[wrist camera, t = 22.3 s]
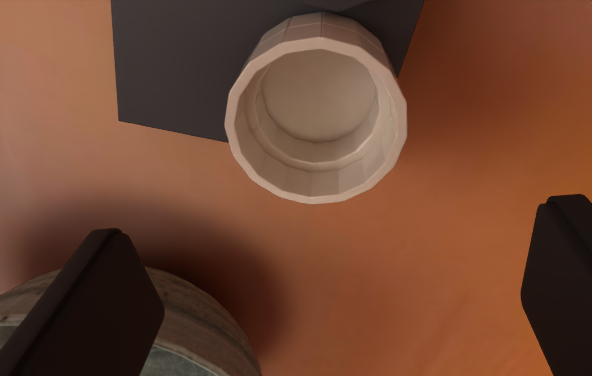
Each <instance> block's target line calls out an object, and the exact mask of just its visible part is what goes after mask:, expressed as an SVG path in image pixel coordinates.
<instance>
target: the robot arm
mask: <svg viewBox="0 0 592 376" xmlns="http://www.w3.org/2000/svg"><path fill="white" fill-rule="evenodd" d="M521 302H522V306H523V309H524V311H525V313H526V315H527V318H528V320H529V322H530V324H531V327H532V329H533V331H534V333H535V335H536V338H537V340H538V342H539V344H540V347H541V349H542V351H543V353H544V355H545V358H546V360H547V362H548V364H549V367H550V369H551V371H552V373H553V375H554V376H592V203H591V202H590V201H589V200H588V198H587V197H586V196H584V195H582V194H574V195H560V196H551V197H549V198H548V199H547V202H546V204H540V205H539V206H538V209H537V213H536V218H535V223H534V228H533V233H532V238H531V243H530V248H529V253H528V258H527V263H526V268H525V272H524V277H523V282H522V287H521ZM164 316H165V308H164V305H163V302H162V301H161V299H160V297H159V295H158V293H157V291H156V289H155V287H154V285H153V283H152V281H151V279H150V277H149V275H148V273H147V271H146V269H145V267H144V265H143V263H142V261H141V259H140V257H139V255H138V253H137V251H136V249H135V247H134V246H133V244H132V242H131V240H130V238H129V236H128V235H127V234H124V233H123V232H122V231H121V230H120V229H118V228H110V229H96V230H93V231H91V232H90V233H89V234H88V236H87V237H86V238H85V240H84V241H83V242H82V244H81V245H80V246H79V248H78V249H77V250H76V251H75V253H74V254H73V255H72V257H71V258H70V259H69V261H68V262H67V263H66V265H65V266H64V267H63V269H62V270H61V271H60V272H59V274H58V275H57V276H56V278H55V279H54V280H53V282H52V283H51V284H50V286H49V287H48V288H47V289H46V291H45V292H44V293H43V295H42V296H41V297H40V299H39V300H38V301H37V303H36V304H35V305H34V306H33V308H32V309H31V310H30V312H29V313H28V314H27V316H26V317H25V318H24V320H23V321H22V322H21V324H20V325H19V326H18V327H17V329H16V330H15V331H14V333H13V334H12V335H11V337H10V338H9V339H8V341H7V342H6V343H5V344H4V346H3V347H2V348H1V350H0V376H140V374H141V371H142V369H143V367H144V364H145V362H146V360H147V357H148V355H149V353H150V350H151V348H152V346H153V343H154V341H155V339H156V336H157V334H158V332H159V329H160V327H161V325H162V322H163V320H164Z"/></svg>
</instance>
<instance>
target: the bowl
mask: <svg viewBox="0 0 592 376" xmlns="http://www.w3.org/2000/svg"><path fill="white" fill-rule="evenodd" d="M62 269H63V268H62ZM62 269H59V270H55V271H52V272H48V273H45V274H42V275H40V276H38V277H35V278H33V279H31V280H29V281H27V282H25V283H23V284H21V285H19V286H17V287H15V288H13V289H11V290H10V291H8V292H6V293H4V294H2V295H0V350H1V348H2V347H3V346H4V344H5V343H6V342H7V341H8V339H9V338H10V337H11V335H12V334H13V333H14V331H15V330H16V329H17V327H18V326H19V325H20V324H21V322H22V321H23V320H24V318H25V317H26V316H27V314H28V313H29V312H30V310H31V309H32V308H33V306H34V305H35V304H36V303H37V301H38V300H39V299H40V297H41V296H42V295H43V293H44V292H45V291H46V289H47V288H48V287H49V286H50V284H51V283H52V282H53V280H54V279H55V278H56V276H57V275H58V274H59V272H60V271H61V270H62ZM145 269H146V271H147V273H148V275H149V277H150V279H151V281H152V283H153V285H154V287H155V289H156V291H157V293H158V295H159V297H160V299H161V301H162V302H163V305H164V308H165V316H164V320H163V322H162V325H161V327H160V329H159V332H158V334H157V336H156V339H155V341H154V343H153V346H152V348H151V350H150V353H149V355H148V357H147V360H146V362H145V364H144V367H143V369H142V371H141V374H140V376H262V374H261V370H260V366H259V363H258V361H257V358H256V356H255V353H254V351H253V348H252V346H251V344H250V341H249V339H248V337H247V335H246V334H245V333H244V331H243V330H242V329H241V327H240V326H239V325H238V323H237V322H236V321H235V320H234V318H233V317H232V316H231V315H230V313H229V312H228V311H227V310H226V309H225V308H224V307H223V306H222V305H221V304H219V303H218V302H217V301H216V300H215V299H214V298H213V297H212V296H211V295H209V294H207V293H206V292H204V291H203V290H201V289H199V288H198V287H196V286H194V285H193V284H191V283H190V282H188V281H186V280H184V279H183V278H181V277H179V276H177V275H174V274H172V273H169V272H167V271H163V270H160V269H156V268H152V267H145Z"/></svg>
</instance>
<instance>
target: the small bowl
mask: <svg viewBox="0 0 592 376" xmlns="http://www.w3.org/2000/svg"><path fill="white" fill-rule="evenodd" d="M224 125H225V130H226V133H227V137H228V140H229V144H230V147H231V151H232V154H233V156H234V158H235V159H236V161H237V162H238V163H239V164H240V166H241V167H242V168H243V169H244V171H245V172H246V173H247V175H248V176H249V177H250V178H251V180H253V182H255V183H257V184H258V185H260V186H262V187H263V188H265V189H266V190H268V191H270V192H271V193H273V194H275V195H276V196H278V197H280V198H284V199H288V200H293V201H297V202H301V203H306V204H322V203H333V202H341V201H345V200H347V199H349V198H352V197H354V196H356V195H358V194H361V193H363V192H365V191H368V190H370V189H371V188H373V187H374V186H375V185H376V184H377V183H378V182H379V181H380V180H381V179H382V178H383V177H384V176H385V175H386V174H387V173H388V172H389V171H390V170H391V169H392V168H393V167H394V166H395V164H396V162H397V159H398V157H399V155H400V153H401V150H402V148H403V146H404V143H405V141H406V139H407V103H406V99H405V97H404V94H403V92H402V89H401V86H400V84H399V81H398V79H397V76H396V73H395V71H394V68H393V66H392V64H391V62H390V60H389V57H388V55H387V53H386V51H385V49H384V47H383V45H382V43H381V42H380V41H379V39H378V38H377V37H375V36H374V35H373V34H372V33H371V32H369V31H368V30H367V29H366V28H364V27H363V26H362V25H361V24H360V23H358V22H357V21H355V20H354V19H350V18H346V17H343V16H339V15H335V14H332V13H328V12H317V13H311V14H305V15H298V16H293V17H291V18H288V19H286V20H285V21H283V22H282V23H280V24H279V25H277V26H275V27H274V28H272V29H271V30H269V31H268V32H266V33H265V35H263V36H262V38H261V39H260V41H259V42H258V44H257V45H256V47H255V48H254V50H253V51H252V53H251V54H250V56H249V57H248V59H247V61H246V63H245V65H244V66H243V68H242V70H241V72H240V74H239V75H238V77H237V79H236V81H235V83H234V84H233V86H232V88H231V90H230V92H229V96H228V103H227V109H226V116H225V123H224Z"/></svg>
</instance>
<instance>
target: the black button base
mask: <svg viewBox="0 0 592 376" xmlns="http://www.w3.org/2000/svg"><path fill="white" fill-rule="evenodd" d="M423 3H424V0H111V12H112V27H113V42H114V57H115V72H116V88H117V103H118V118H119V121H123V122H128V123H133V124H138V125H143V126H148V127H153V128H158V129H163V130H168V131H173V132H177V133H182V134H187V135H192V136H197V137H202V138H207V139H212V140H217V141H222V142H227V143H229V140H228V137H227V133H226V130H225V125H224V123H225V116H226V109H227V103H228V96H229V92H230V90H231V88H232V86H233V84H234V83H235V81H236V79H237V77H238V75H239V74H240V72H241V70H242V68H243V66H244V65H245V63H246V61H247V59H248V57H249V56H250V54H251V53H252V51H253V50H254V48H255V47H256V45H257V44H258V42H259V41H260V39H261V38H262V36H263V35H265V33H266V32H268V31H269V30H271V29H272V28H274V27H275V26H277V25H279V24H280V23H282V22H283V21H285V20H286V19H288V18H291V17H293V16H298V15H305V14H311V13H317V12H328V13H332V14H335V15H339V16H343V17H346V18H350V19H354V20H355V21H357V22H358V23H360V24H361V25H362V26H363V27H364V28H366V29H367V30H368V31H369V32H371V33H372V34H373V35H374V36H375V37H377V38H378V39H379V41H380V42H381V43H382V45H383V47H384V49H385V51H386V53H387V55H388V57H389V60H390V62H391V64H392V66H393V68H394V71H395V73H396V76H397V79H398V76H399V73H400V70H401V67H402V64H403V61H404V58H405V55H406V53H407V50H408V47H409V44H410V41H411V38H412V35H413V32H414V29H415V26H416V23H417V20H418V17H419V14H420V11H421V8H422V6H423Z"/></svg>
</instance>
